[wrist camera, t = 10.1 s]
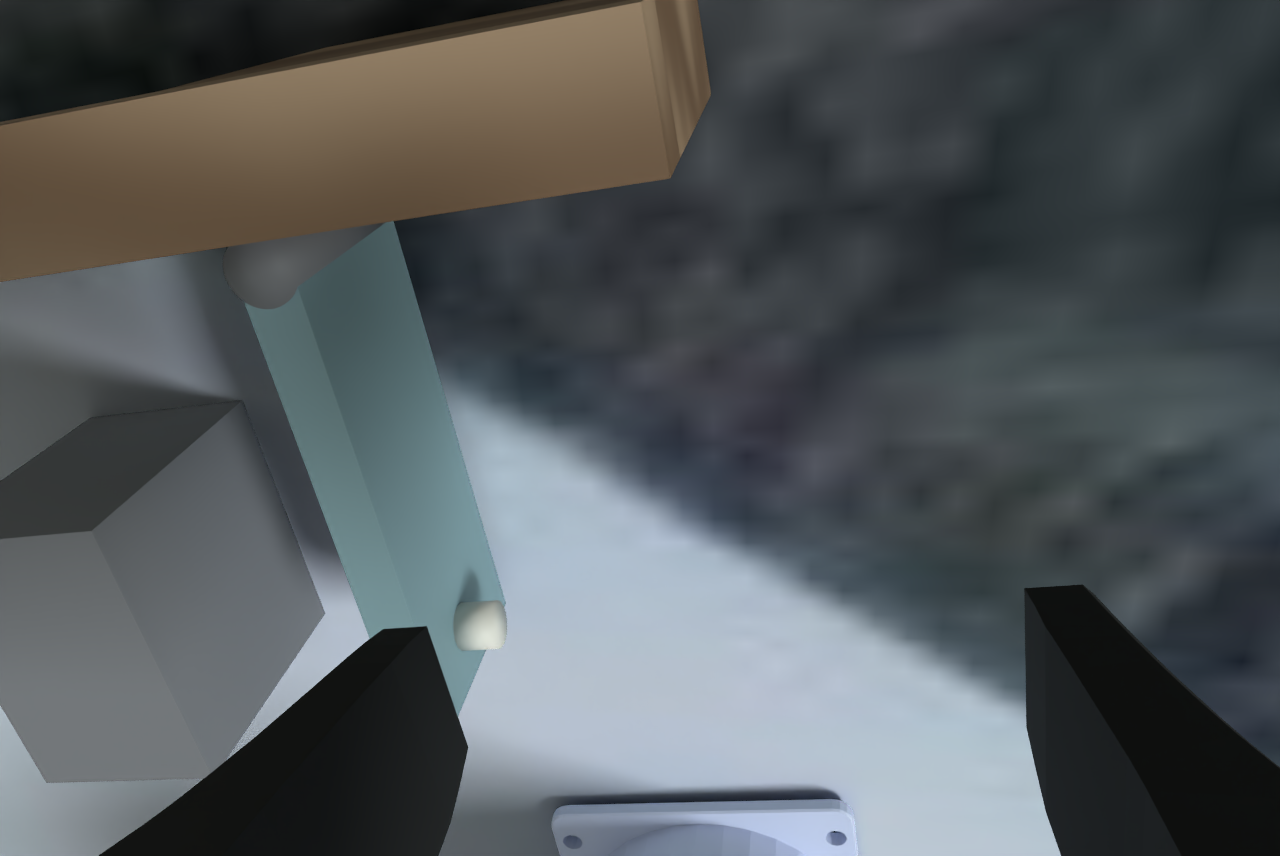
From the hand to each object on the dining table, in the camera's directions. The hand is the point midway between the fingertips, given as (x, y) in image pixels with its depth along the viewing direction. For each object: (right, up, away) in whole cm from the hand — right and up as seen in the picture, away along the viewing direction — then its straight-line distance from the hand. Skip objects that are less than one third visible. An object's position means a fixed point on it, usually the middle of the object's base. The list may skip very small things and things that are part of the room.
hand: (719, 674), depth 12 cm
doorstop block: (-11, +1, +12) cm, 17 cm away
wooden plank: (-11, +9, +8) cm, 16 cm away
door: (-5, +3, +9) cm, 11 cm away
